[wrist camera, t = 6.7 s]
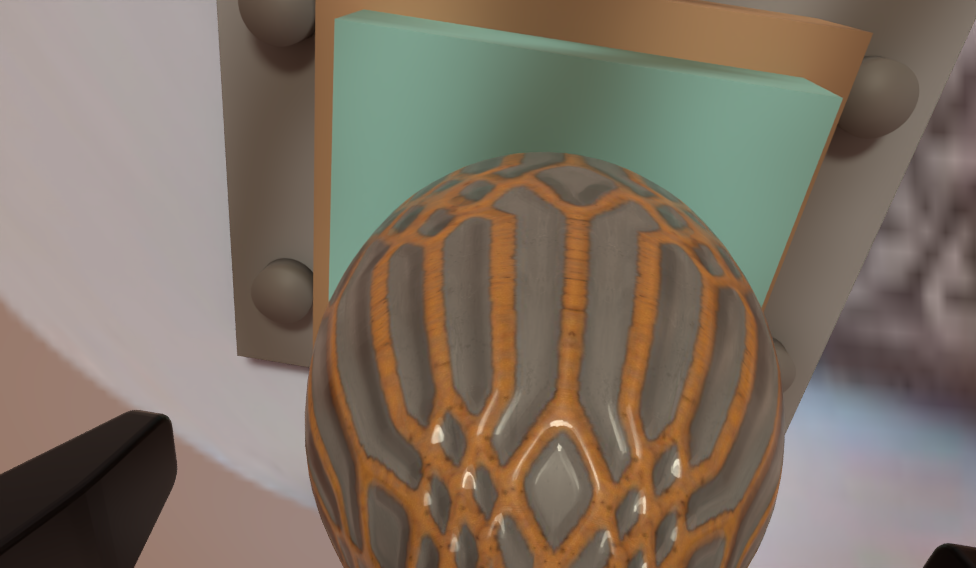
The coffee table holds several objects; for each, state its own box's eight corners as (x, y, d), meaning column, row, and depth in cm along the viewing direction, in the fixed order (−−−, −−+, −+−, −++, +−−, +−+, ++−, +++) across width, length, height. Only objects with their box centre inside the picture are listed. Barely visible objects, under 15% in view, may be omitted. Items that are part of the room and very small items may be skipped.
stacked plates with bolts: (971, -31, 15) (1195, -20, 10) (771, 424, 22) (841, 577, 17) (227, -145, 16) (60, -192, 10) (250, 339, 22) (154, 462, 17)
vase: (756, 131, 12) (1167, 503, 4) (673, 428, 15) (804, 955, 7) (378, 91, 12) (50, 365, 4) (377, 391, 15) (193, 860, 7)
